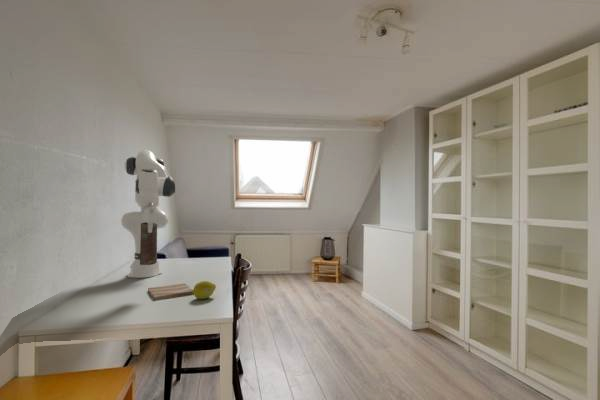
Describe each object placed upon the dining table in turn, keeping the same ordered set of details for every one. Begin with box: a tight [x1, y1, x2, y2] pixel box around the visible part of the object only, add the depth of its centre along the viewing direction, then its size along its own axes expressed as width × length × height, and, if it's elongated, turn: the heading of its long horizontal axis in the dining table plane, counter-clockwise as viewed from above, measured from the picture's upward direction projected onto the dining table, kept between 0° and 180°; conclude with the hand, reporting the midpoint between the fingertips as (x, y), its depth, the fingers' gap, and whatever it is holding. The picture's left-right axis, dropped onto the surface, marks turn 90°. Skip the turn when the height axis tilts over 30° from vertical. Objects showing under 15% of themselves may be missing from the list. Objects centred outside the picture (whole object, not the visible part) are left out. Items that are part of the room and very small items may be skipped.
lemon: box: [192, 280, 217, 300], centre depth 152 cm, size 11×8×8 cm
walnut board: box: [147, 282, 194, 301], centre depth 162 cm, size 18×18×2 cm
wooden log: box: [140, 223, 158, 265], centre depth 156 cm, size 8×7×20 cm
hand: (148, 231), depth 157 cm, fingers closed on wooden log, 7 cm apart
